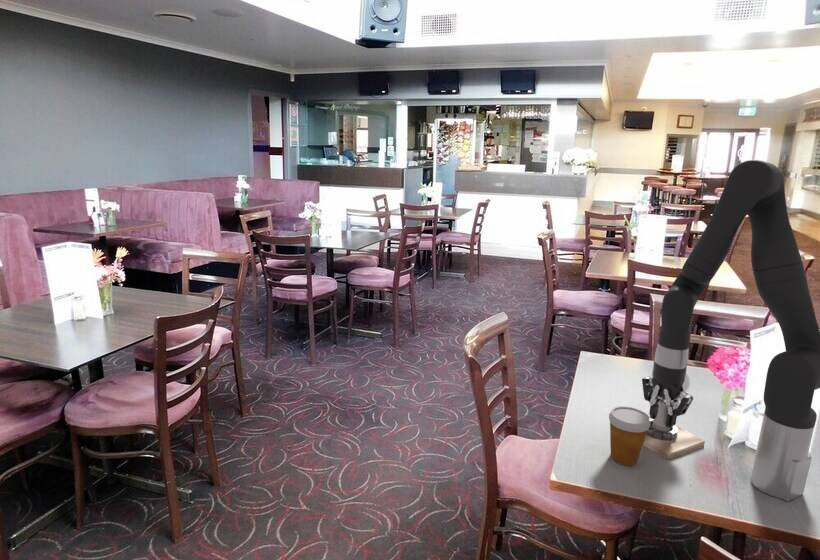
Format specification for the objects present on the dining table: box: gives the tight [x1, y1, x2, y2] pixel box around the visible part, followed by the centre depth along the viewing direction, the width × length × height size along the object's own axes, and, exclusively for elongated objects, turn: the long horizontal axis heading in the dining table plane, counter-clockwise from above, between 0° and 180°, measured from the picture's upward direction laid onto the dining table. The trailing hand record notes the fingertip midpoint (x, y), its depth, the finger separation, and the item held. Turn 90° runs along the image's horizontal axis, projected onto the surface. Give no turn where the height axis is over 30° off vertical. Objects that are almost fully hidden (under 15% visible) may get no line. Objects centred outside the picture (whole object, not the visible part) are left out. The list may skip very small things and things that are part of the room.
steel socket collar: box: [646, 418, 678, 441], centre depth 142 cm, size 8×8×2 cm
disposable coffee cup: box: [608, 405, 651, 467], centre depth 131 cm, size 10×10×12 cm
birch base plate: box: [643, 413, 706, 461], centre depth 142 cm, size 16×14×2 cm
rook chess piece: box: [652, 398, 670, 432], centre depth 141 cm, size 4×4×8 cm
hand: (661, 421), depth 141 cm, fingers closed on rook chess piece, 4 cm apart
